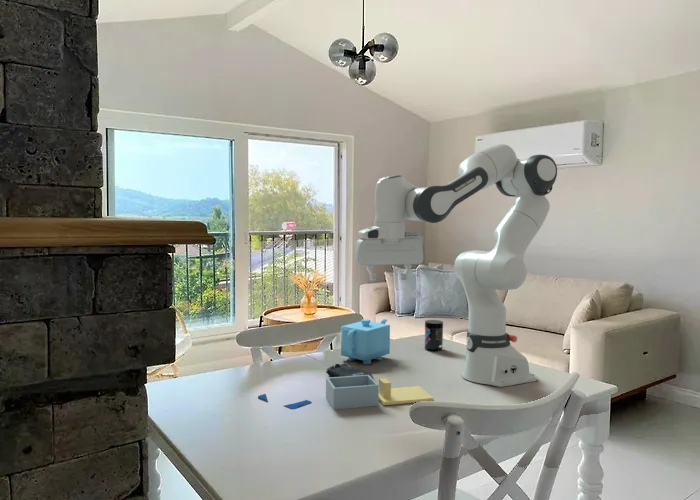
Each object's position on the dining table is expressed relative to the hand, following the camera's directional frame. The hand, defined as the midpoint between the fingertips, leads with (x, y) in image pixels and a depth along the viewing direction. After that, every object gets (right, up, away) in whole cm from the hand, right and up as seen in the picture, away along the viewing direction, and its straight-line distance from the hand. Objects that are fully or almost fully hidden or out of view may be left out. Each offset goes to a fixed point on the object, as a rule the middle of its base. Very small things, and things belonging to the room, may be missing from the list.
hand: (388, 280), depth 155 cm
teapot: (-5, -29, +31) cm, 43 cm away
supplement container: (+20, -28, +44) cm, 56 cm away
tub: (-11, -32, -13) cm, 36 cm away
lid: (+3, -31, -9) cm, 33 cm away
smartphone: (-29, -32, -11) cm, 45 cm away
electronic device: (-11, -31, +7) cm, 34 cm away
